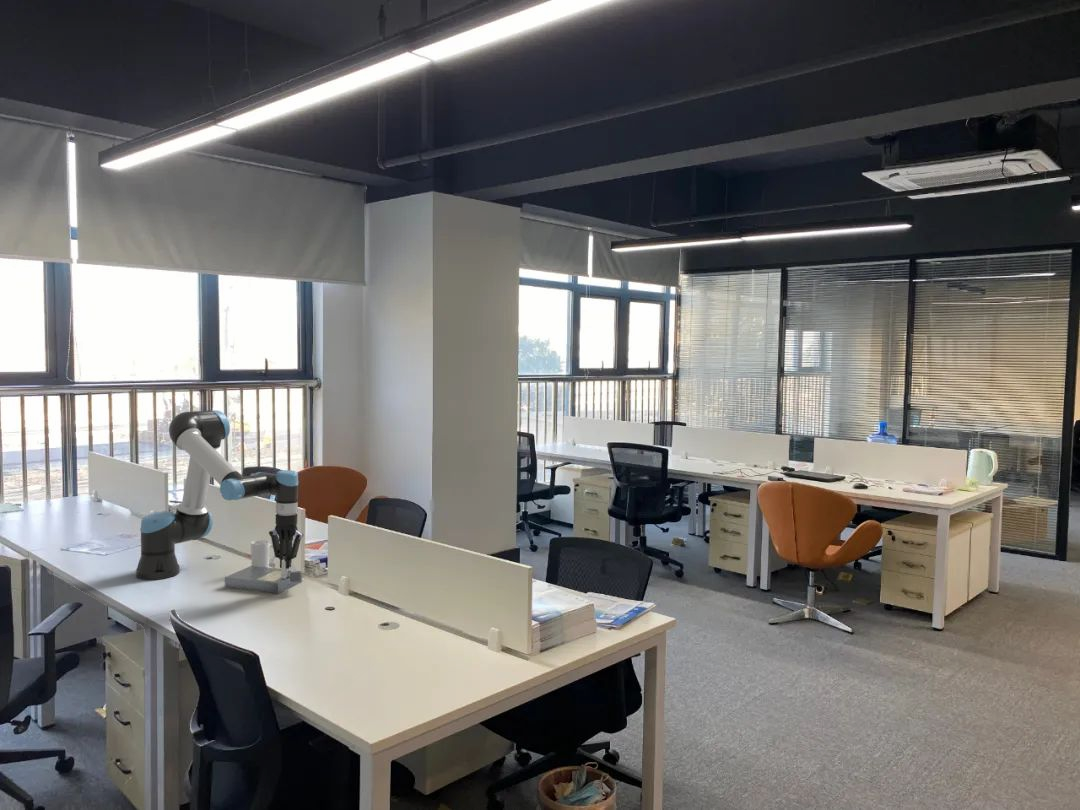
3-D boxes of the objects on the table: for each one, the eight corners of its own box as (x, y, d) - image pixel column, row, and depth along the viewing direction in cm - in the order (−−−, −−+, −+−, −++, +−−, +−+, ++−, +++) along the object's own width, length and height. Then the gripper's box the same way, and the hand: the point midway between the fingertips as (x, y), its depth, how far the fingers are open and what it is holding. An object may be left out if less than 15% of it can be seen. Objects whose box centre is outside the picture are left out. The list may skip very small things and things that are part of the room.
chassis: (224, 587, 283) (225, 576, 283) (251, 575, 299) (251, 564, 299) (278, 594, 278) (278, 582, 278) (302, 581, 294) (302, 570, 293)
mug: (255, 575, 299) (255, 545, 299) (248, 571, 304) (248, 541, 304) (280, 571, 306) (280, 541, 305) (272, 567, 311) (273, 538, 310)
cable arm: (280, 568, 294) (281, 558, 294) (290, 567, 296) (290, 557, 296) (290, 582, 278) (290, 571, 277) (300, 581, 279) (301, 570, 279)
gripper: (264, 513, 278) (263, 577, 279) (296, 517, 275) (295, 582, 276) (276, 509, 285) (275, 572, 287) (308, 513, 282) (306, 576, 284)
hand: (285, 577), depth 282 cm, fingers closed
